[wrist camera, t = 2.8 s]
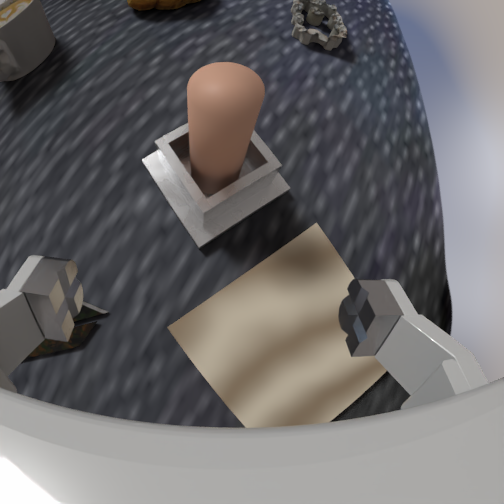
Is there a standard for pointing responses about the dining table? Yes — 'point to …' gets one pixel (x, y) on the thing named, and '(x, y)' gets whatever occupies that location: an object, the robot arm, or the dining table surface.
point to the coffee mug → (23, 38)
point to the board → (280, 339)
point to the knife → (76, 335)
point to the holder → (223, 202)
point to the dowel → (221, 122)
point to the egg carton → (317, 23)
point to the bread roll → (158, 4)
